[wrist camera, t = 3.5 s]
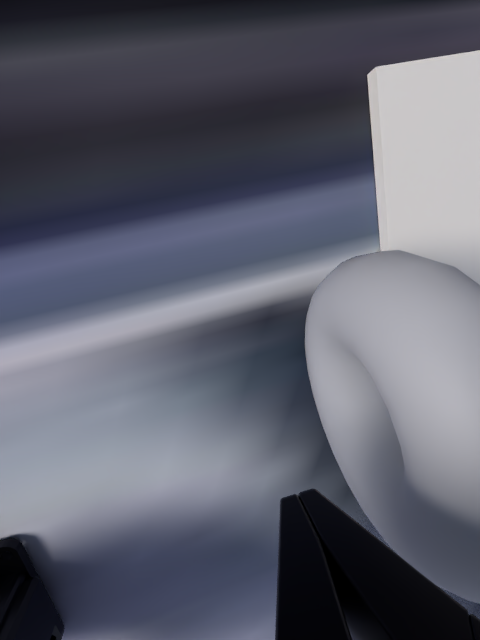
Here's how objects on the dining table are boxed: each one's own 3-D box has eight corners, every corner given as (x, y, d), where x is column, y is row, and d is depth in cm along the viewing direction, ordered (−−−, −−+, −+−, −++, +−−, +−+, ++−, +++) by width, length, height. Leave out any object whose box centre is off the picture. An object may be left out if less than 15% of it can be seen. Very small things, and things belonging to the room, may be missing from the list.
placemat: (400, 514, 19) (407, 522, 18) (367, 74, 12) (376, 66, 12) (521, 474, 19) (531, 481, 19) (544, 46, 13) (560, 37, 13)
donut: (274, 255, 14) (490, 297, 4) (350, 237, 14) (711, 236, 4) (310, 450, 16) (489, 746, 7) (373, 430, 17) (625, 685, 7)
